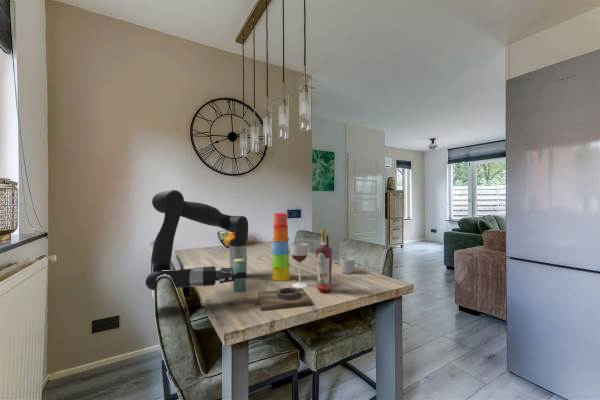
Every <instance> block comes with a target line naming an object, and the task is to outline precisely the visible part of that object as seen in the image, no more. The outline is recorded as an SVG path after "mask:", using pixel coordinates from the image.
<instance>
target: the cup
mask: <svg viewBox="0 0 600 400" xmlns="http://www.w3.org/2000/svg"><path fill="white" fill-rule="evenodd" d="M339 261H340V269H341V273H343V274H346V275H347V274H348V275H350V274H352V273H354V271H358V270H359V268H360V264H359V262H358V261H355V258H354V257H348V256H342V257H340V258H339ZM355 264H356V267H355Z"/></svg>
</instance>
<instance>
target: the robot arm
mask: <svg viewBox="0 0 600 400" xmlns="http://www.w3.org/2000/svg"><path fill="white" fill-rule="evenodd" d="M183 195H184V194H182V193H181V191H179V190H176V189H170V190H164V191H161V192H158V193H156V194H155V195H154V196H153V197H152V200H151V204H152V206H153V208H154V209H155V211H157V212H159V213H161V214H164V217H163V221H162V224H161V227H160V229H159V231H158V233H157V235H156V237H155V239H154V242H153V245H152V252H151V263H152V272H151V273H150V274H148V276H147V277H146V279H145V285H146V288H148V289H149V290H151V291H156V290H155V288H156V279H157V277H158V276H160V275H163V274H167V275H170V276H171V277H172V279H173V282H174V284H175V286H176V288H175V289H177V288H180V289H181V288H192V287H193V288H199V287H210V286H211V287H212V286H215V285H216V281H217V282H219V284H225V283H231V282H233V281H235V280H236V279H240V278H246V279H247V276H248V256H247V255H248V247H247V246H248V245H247V242H248V239H249V222H248V221H249V220H248V219H247V217H246V216H244V215H228V214H226V213H222V212H221V211H220V210H219V209H218V208H217V207H215V206H212V205H209V204H205V203H203V202H195V201H186V200H185V197H184V196H183ZM181 217H182V218H184V219H187V220H191V221H194V222H197V223H199V224H202V225H207V226H212V227H216V228H217V227H218V228H221V229H223V230H225V231H227V232H230V233H233V234H235V235H234V237H233V238H232V239H230V240H229V242H228V244H229V246H228V247H229V248H228V249H229V267H221V268H220V270H216V269H217V268H216V266H214V265H213V266H202V267H194V268H182V269H178V270H172V266H171V265H172V264H171V261H172V256H173V255H172V254H173V247H174V241H175V236H176V232H177V228H178V225H179V221H180V219H181ZM234 259H245V271H246V272H242V273H233V260H234ZM162 270H170V271H162Z"/></svg>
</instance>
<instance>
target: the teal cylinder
mask: <svg viewBox="0 0 600 400" xmlns="http://www.w3.org/2000/svg"><path fill="white" fill-rule="evenodd" d="M242 272H246V271H245V259H234V260H233V273H242ZM246 279H247V277H246V278H240V279H236V280H235V281H232V282H233V283H232V285H233V288H232V289H233V293H237V294H238V293H243V292H245V291H247V289H246V288H247V282H246V281H247V280H246Z"/></svg>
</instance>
